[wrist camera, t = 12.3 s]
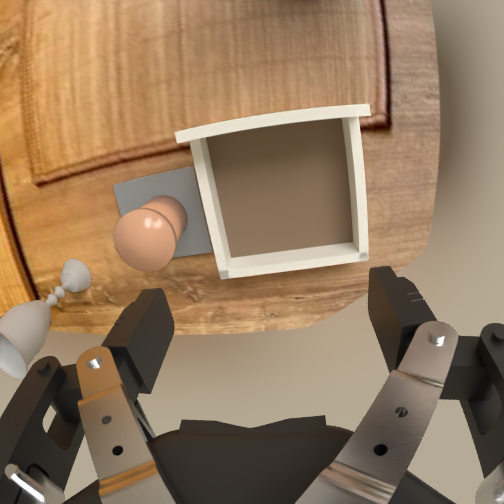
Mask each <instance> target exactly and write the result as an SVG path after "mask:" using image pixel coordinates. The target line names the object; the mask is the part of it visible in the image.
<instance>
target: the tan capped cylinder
mask: <svg viewBox="0 0 504 504" xmlns="http://www.w3.org/2000/svg"><path fill="white" fill-rule="evenodd" d="M186 226H187V213H186V210H185V208H184V207H183V205H182V204H181V203H180V202H179V201H178V200H177V199H175V198H173V197H171V196H168V195H159V196H155V197H153V198H152V199H150V200H149V201H148V202H146V203H145V204H144V205H143V206H142V207H140V208H137V209H134V210H131V211H130V212H128V213H127V214H126V215H124V216H123V217H122V218H121V219H120V220H119V221H118V223H117V225H116V227H115V231H114V244H115V247H116V250H117V252H118V254H119V255H120V257H121V258H122V259H123V261H124V262H125V263H127V264H128V265H129V266H131V267H132V268H134V269H136V270H139V271H143V272H154V271H157V270H160V269H162V268H163V267H165V266H166V265H167V264H168V263H169V261H170V260H171V258H172V257H173V255H174V253H175V250H176V246H177V241H178V240H179V238H180V237H181V235H182V234H183V232H184V231H185V229H186Z"/></svg>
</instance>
